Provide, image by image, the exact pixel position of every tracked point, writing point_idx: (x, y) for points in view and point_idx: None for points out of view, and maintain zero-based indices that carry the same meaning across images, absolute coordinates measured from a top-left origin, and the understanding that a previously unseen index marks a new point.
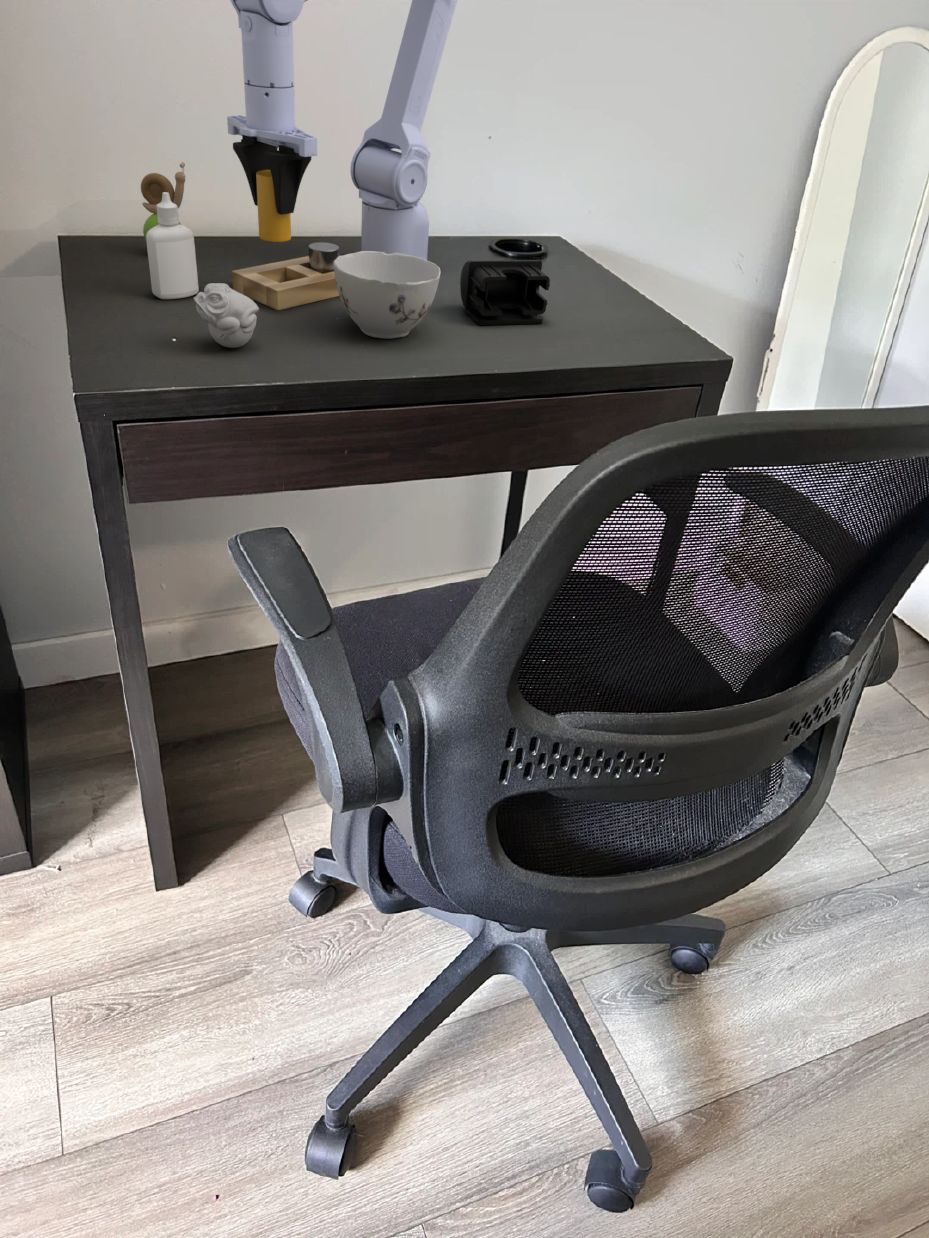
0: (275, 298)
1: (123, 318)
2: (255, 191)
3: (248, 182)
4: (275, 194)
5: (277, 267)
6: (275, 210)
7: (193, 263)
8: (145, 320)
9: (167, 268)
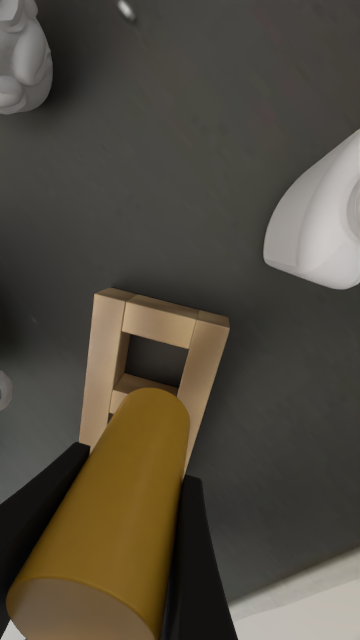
0: (105, 291)
1: (294, 14)
2: (182, 520)
3: (212, 558)
4: (45, 492)
5: (181, 396)
6: (94, 452)
7: (277, 253)
8: (247, 49)
9: (307, 176)
